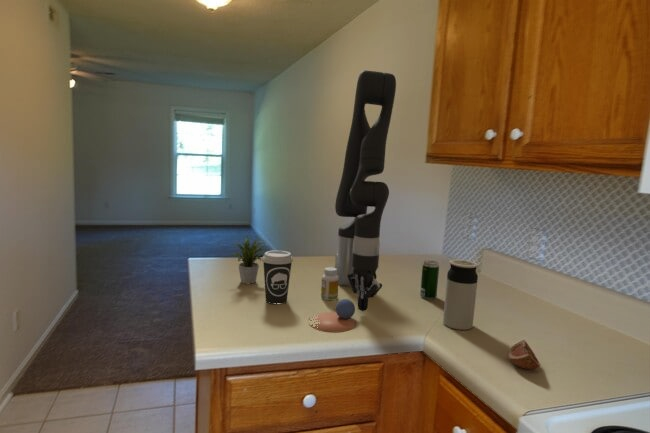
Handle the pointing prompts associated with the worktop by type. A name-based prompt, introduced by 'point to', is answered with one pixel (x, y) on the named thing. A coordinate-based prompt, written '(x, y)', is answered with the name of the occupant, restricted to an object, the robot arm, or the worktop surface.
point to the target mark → (333, 322)
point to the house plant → (249, 261)
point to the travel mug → (460, 294)
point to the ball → (345, 308)
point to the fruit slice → (523, 355)
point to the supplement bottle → (329, 284)
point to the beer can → (429, 279)
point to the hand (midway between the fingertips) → (362, 309)
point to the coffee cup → (277, 275)
